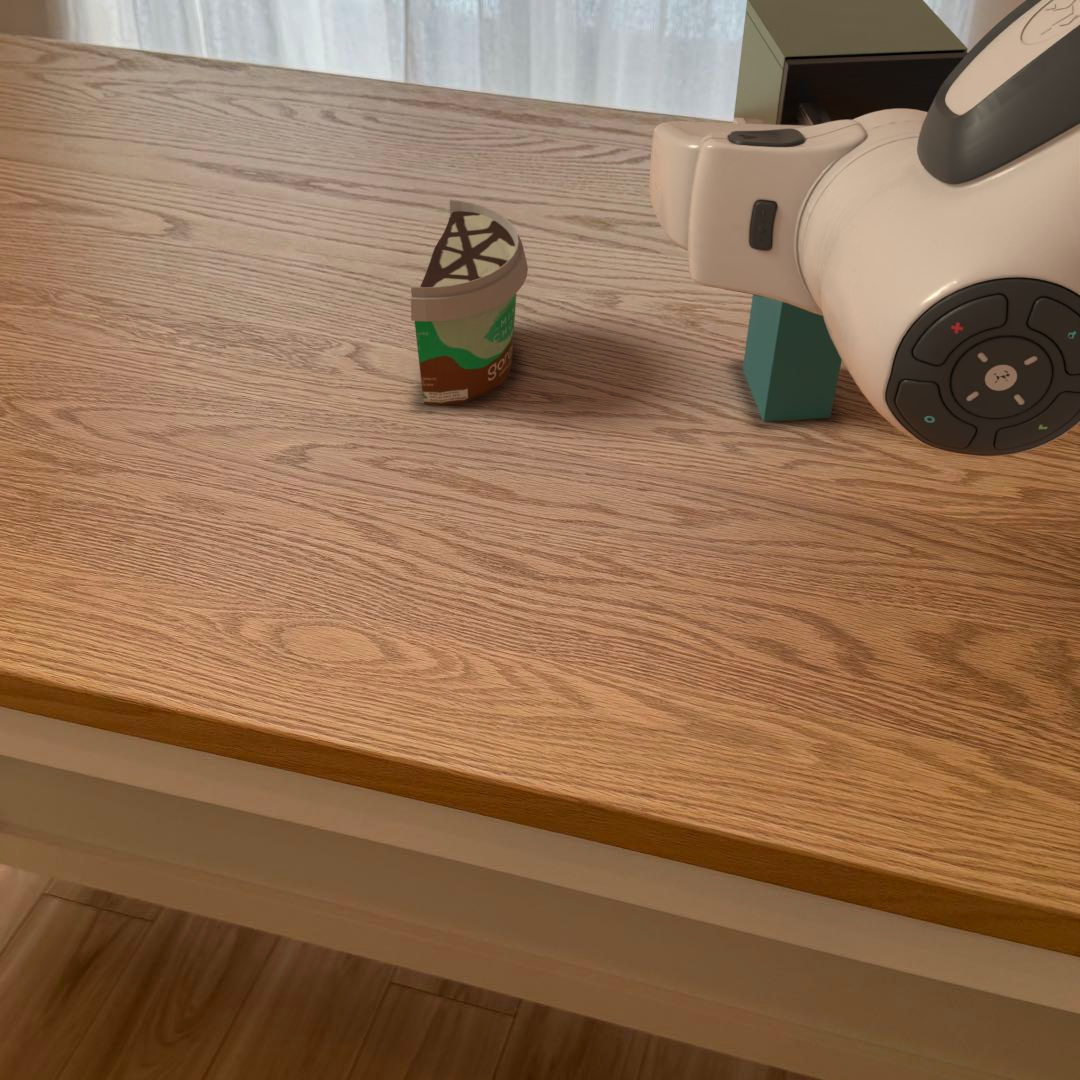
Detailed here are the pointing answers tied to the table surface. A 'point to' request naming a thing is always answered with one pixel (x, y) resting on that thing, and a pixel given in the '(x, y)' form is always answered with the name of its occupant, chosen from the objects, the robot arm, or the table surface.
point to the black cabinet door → (860, 86)
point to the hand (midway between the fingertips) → (834, 136)
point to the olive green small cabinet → (827, 41)
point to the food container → (468, 306)
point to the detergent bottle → (790, 362)
